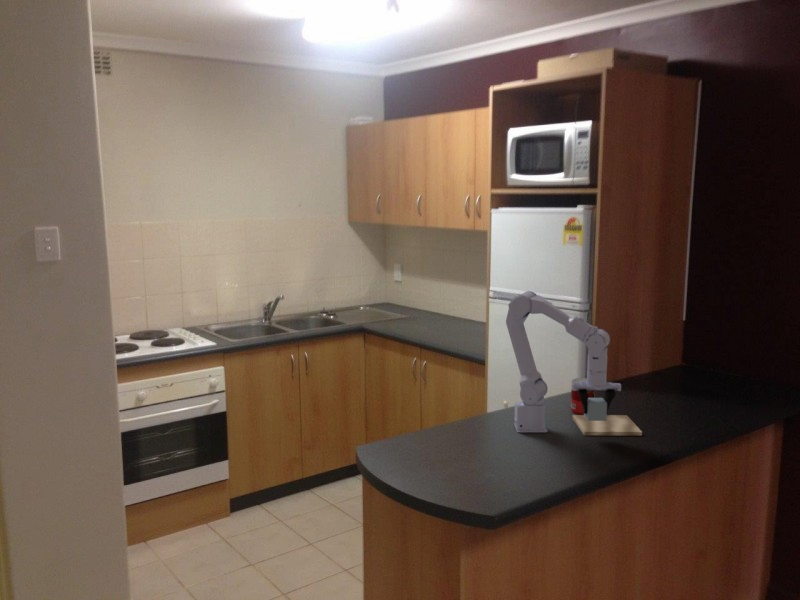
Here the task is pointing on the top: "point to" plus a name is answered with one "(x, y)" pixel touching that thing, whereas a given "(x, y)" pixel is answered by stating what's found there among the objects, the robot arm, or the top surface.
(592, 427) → the board
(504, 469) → the top surface
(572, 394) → the canned food
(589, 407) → the cube
